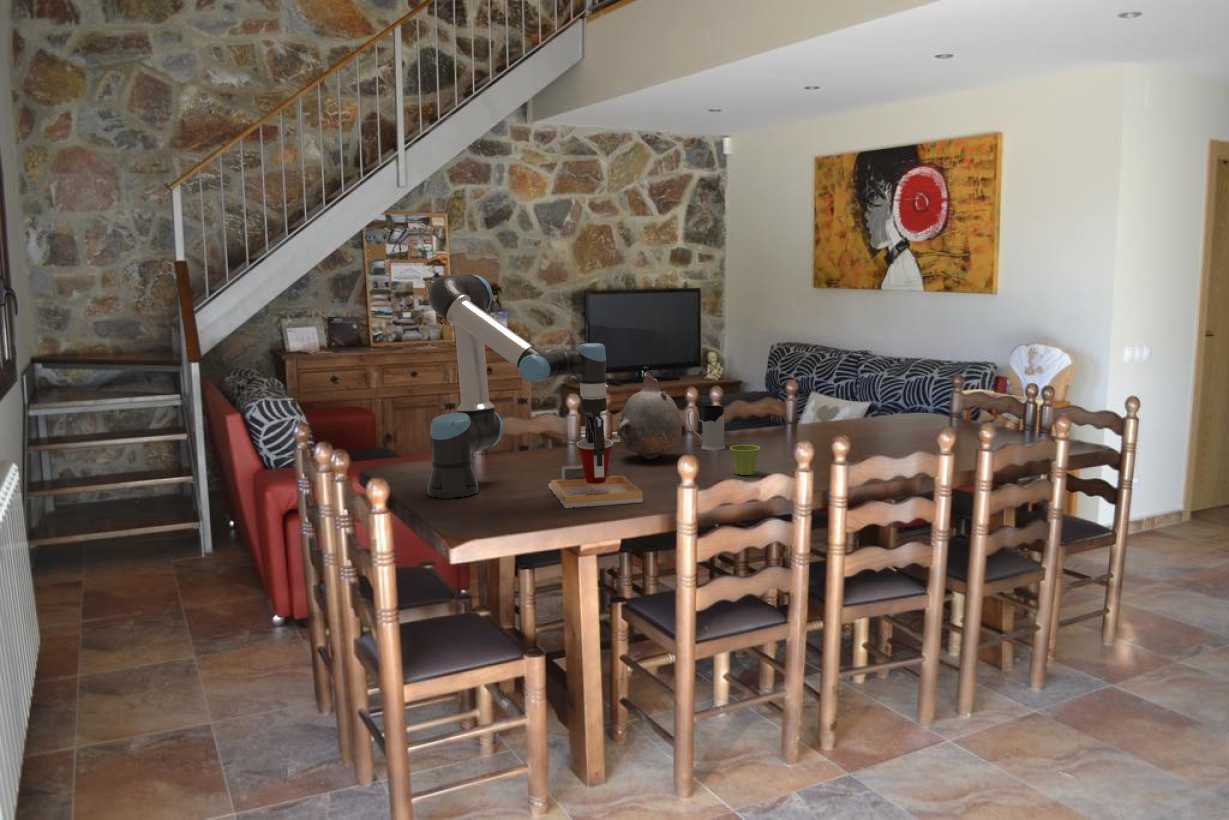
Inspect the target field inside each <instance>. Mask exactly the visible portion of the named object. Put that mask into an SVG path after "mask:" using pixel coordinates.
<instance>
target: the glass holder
mask: <svg viewBox="0 0 1229 820" xmlns="http://www.w3.org/2000/svg"><path fill="white" fill-rule="evenodd" d="M724 410H725V408H724V406H722V405H705V406H702V420H701V418H700V413H699V411H698V410H697V409H695V408H693V409H690V410H689V411H688V412H687V422H688V424H689V427H690V430H691V431H692V432H693V433H694V434H695V435H696V436H697V437H699V438H700V440H701V442H702V445H701V450H706V451H720V450H721V449H722V450H726V446H725V412H724ZM692 411H694V412H696V413H697V417H698V418H697V420H698V421H699V422H701V423H702V430H701V431H702V436H701V435H700V434H698V432H697V431H695V429H694V428H693V427H692V425H691V422H690V412H692Z"/></svg>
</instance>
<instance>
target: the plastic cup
mask: <svg viewBox="0 0 1229 820" xmlns="http://www.w3.org/2000/svg"><path fill="white" fill-rule="evenodd" d="M604 440H605V451H606V453H605V454H604V477H596V478H595V477H594V456H593V455H592V454H593V453H595V450H594V449H595V448H594V443H588V442H587V439H585V438H584V439H582V440H581V439H580V440H579V441H577V442H576V447H577V448H578V450H579V455H580V458H581V463H582V464H581V465H583V470H584V473H585V479H586V482H587V483H590V484H599V483H604V482H606V477H607V471H608V465H609V462H610V455H611V450H612V448H613V447H612V446H614V441H613V440H612V439H609V438H604ZM599 450H601V449H599Z"/></svg>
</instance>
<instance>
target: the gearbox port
mask: <svg viewBox="0 0 1229 820" xmlns="http://www.w3.org/2000/svg"><path fill="white" fill-rule="evenodd" d="M610 470H611V467H610V465H609V464H608V471H607V477H606V482H604V483H599V484H590V483H587V482H586V479H585V473H584V470H583V465H582V464H580V465H567V466H566V465H565V466H561V479H551V481H550V482H549V483H548V489H549V490H550V489H551V490H552V491H553V492H552V491H551V490H550V491H551V492H552V493H553V495H554V494H555V495H556V496H555V495H554V496H555V497H556V499H559V500H560V501H559V500H558V501H559V502H560V503H561V505H562V504H563V505H562V506H563V507H564V508H565V509H573V507H575V508H584V507H585V508H588V507H599V506H613V505H614V506H615V505H624V504H639V503H640V504H641V503H644V501H643V500H644V498H643V490H641V489H640V488H639V487H638V486H637V485H636V484H634V483H633V482H632V481H631V480H629V479H628V478H627V476H625V475H623V474H622V475H611V471H610ZM587 506H588V507H587Z"/></svg>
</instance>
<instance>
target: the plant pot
mask: <svg viewBox="0 0 1229 820" xmlns="http://www.w3.org/2000/svg"><path fill="white" fill-rule="evenodd" d="M729 449H730V451H731V456H732V459H733V461H732V462H733V468H734V474H735V473H736V474H735V475H738V474H740V475H749V476H753V474H754V475H755V474H756V472H755V471H756V464H757V458H758V455H759V451H760V449H761V448H760V446H758V445H753V444H737V445H732V446H730V447H729ZM740 475H739V476H740Z"/></svg>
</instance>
